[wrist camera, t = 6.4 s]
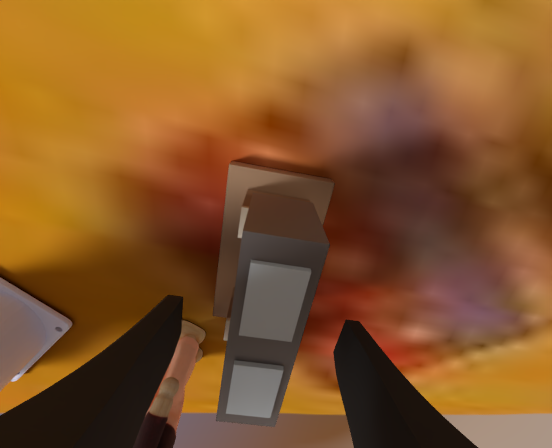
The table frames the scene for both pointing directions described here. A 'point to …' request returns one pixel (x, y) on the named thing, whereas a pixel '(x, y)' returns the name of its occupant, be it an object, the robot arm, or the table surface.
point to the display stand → (237, 203)
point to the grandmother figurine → (171, 392)
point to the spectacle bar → (270, 306)
